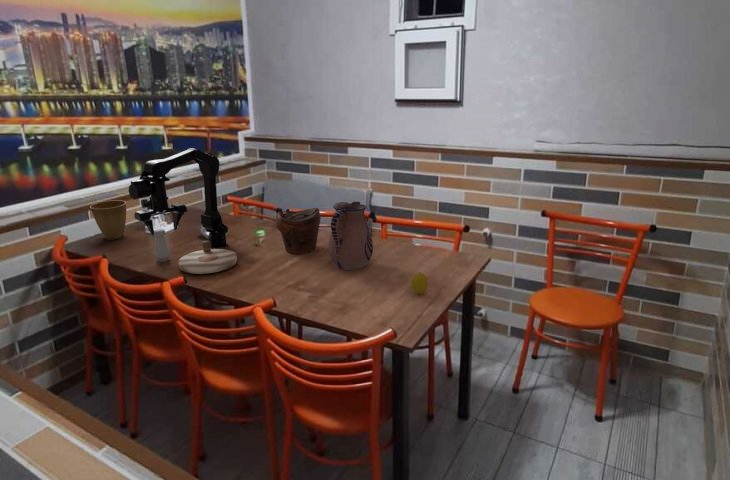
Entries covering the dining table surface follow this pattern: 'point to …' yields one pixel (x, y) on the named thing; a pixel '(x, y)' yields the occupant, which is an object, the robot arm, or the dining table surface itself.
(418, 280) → the lemon
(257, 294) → the dining table surface
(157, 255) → the salt shaker
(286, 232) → the brown tapered round container
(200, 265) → the lazy susan
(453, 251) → the dining table surface
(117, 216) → the plant pot
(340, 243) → the ceramic pitcher
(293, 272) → the dining table surface
